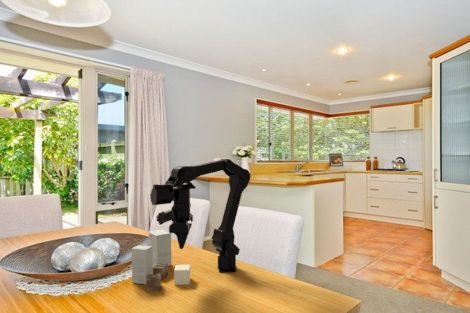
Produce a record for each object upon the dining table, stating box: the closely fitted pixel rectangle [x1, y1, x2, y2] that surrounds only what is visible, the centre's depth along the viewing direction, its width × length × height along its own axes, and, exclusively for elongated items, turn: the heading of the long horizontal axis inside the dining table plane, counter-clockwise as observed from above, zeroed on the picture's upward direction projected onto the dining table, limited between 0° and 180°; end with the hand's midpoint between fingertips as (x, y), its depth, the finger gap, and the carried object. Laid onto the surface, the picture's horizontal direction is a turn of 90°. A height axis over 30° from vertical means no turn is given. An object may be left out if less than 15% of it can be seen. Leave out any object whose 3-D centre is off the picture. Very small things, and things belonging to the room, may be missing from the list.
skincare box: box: [131, 244, 153, 285], centre depth 105 cm, size 6×4×12 cm
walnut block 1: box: [153, 263, 169, 280], centre depth 110 cm, size 4×4×4 cm
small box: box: [148, 229, 172, 267], centre depth 121 cm, size 8×6×13 cm
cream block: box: [173, 264, 191, 286], centre depth 105 cm, size 5×5×5 cm
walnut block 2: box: [145, 274, 162, 293], centre depth 100 cm, size 4×4×4 cm
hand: (182, 246), depth 105 cm, fingers open, 4 cm apart
